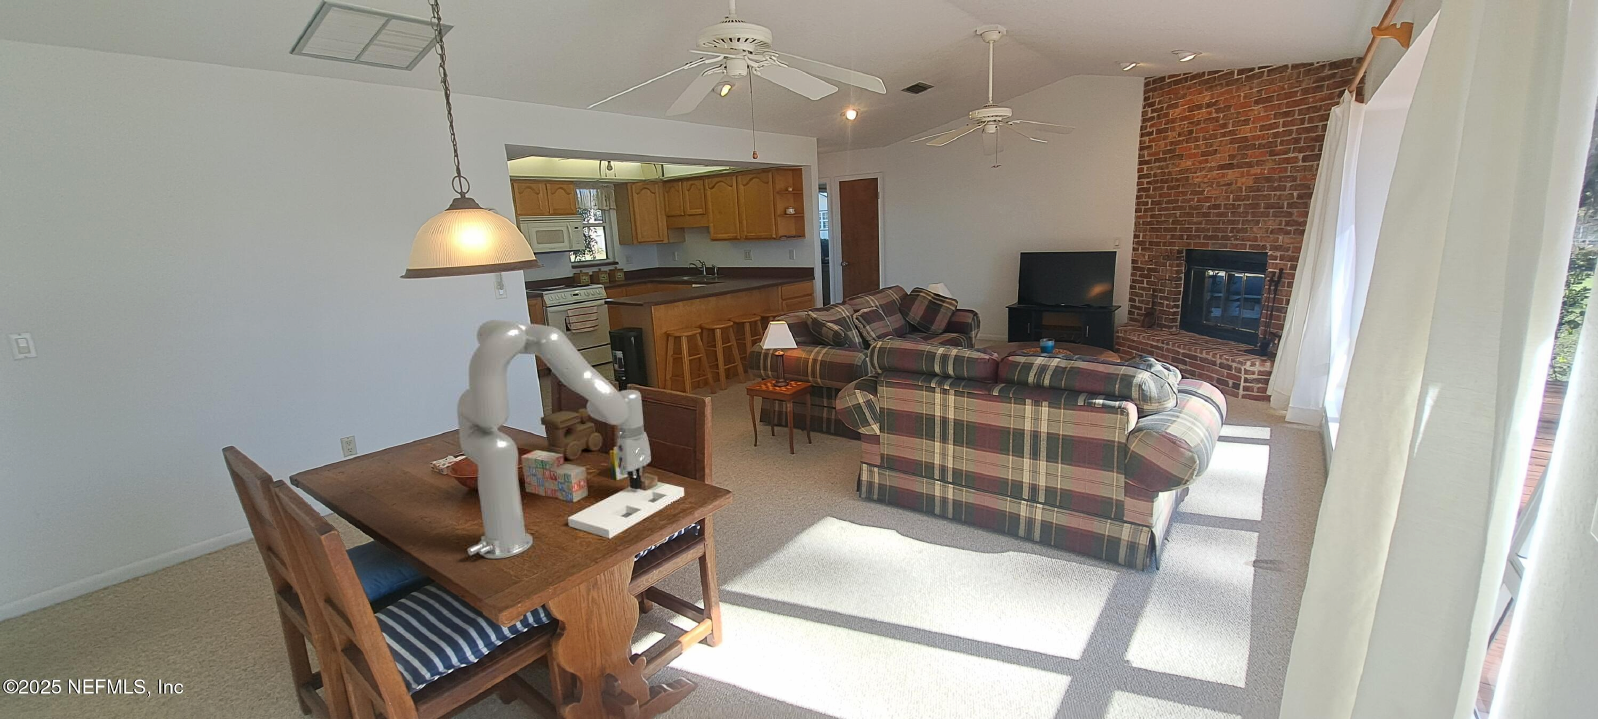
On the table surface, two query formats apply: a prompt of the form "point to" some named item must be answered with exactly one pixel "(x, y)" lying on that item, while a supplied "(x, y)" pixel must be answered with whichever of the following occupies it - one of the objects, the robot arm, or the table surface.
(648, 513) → the trap board
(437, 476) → the table surface
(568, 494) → the stack of blocks
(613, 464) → the crayon box
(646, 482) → the walnut block
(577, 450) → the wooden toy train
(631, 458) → the robot arm
